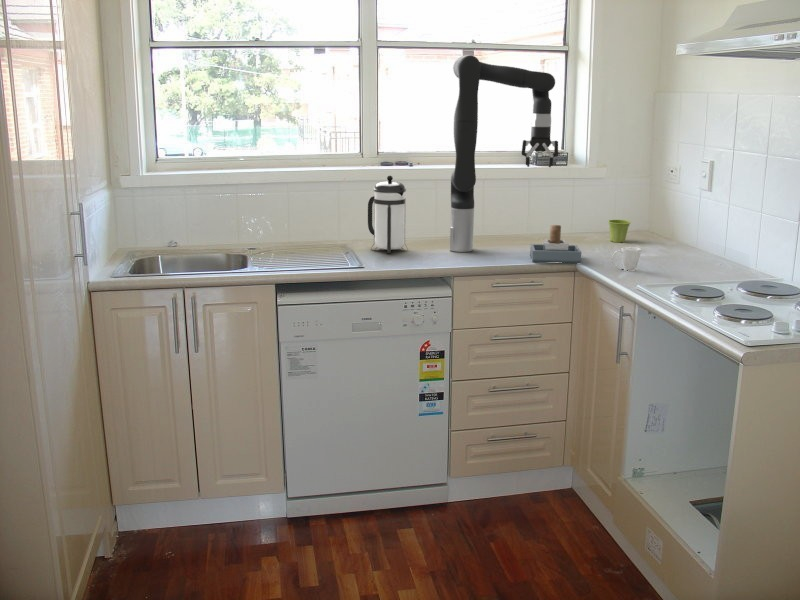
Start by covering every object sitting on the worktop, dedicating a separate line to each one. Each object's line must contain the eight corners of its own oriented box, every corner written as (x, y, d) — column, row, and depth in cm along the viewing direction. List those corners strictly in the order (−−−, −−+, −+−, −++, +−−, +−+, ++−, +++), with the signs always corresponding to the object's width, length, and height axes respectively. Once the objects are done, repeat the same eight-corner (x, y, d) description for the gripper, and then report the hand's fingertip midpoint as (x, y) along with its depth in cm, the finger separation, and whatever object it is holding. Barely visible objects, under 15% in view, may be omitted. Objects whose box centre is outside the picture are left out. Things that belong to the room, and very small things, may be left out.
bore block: (544, 259, 301) (545, 243, 300) (542, 254, 309) (543, 239, 308) (567, 259, 300) (568, 244, 299) (564, 254, 309) (565, 239, 307)
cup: (639, 272, 285) (641, 250, 283) (611, 271, 287) (613, 249, 285) (639, 268, 292) (641, 247, 289) (611, 266, 294) (612, 245, 292)
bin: (532, 262, 300) (533, 250, 299) (529, 255, 312) (530, 244, 311) (580, 263, 298) (581, 252, 297) (576, 256, 311) (576, 245, 310)
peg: (549, 257, 303) (550, 226, 300) (548, 255, 307) (549, 225, 304) (560, 257, 303) (561, 226, 300) (559, 255, 307) (560, 224, 304)
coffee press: (409, 246, 326) (410, 173, 319) (406, 254, 311) (407, 178, 303) (368, 245, 328) (367, 172, 320) (362, 253, 313) (362, 177, 305)
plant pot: (630, 240, 344) (632, 220, 342) (627, 244, 336) (629, 223, 333) (608, 238, 348) (609, 218, 345) (605, 242, 339) (606, 222, 337)
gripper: (523, 125, 310) (521, 167, 315) (560, 126, 309) (557, 168, 313) (522, 124, 317) (520, 165, 322) (558, 125, 316) (556, 166, 321)
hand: (538, 166), depth 318 cm, fingers open, 8 cm apart
